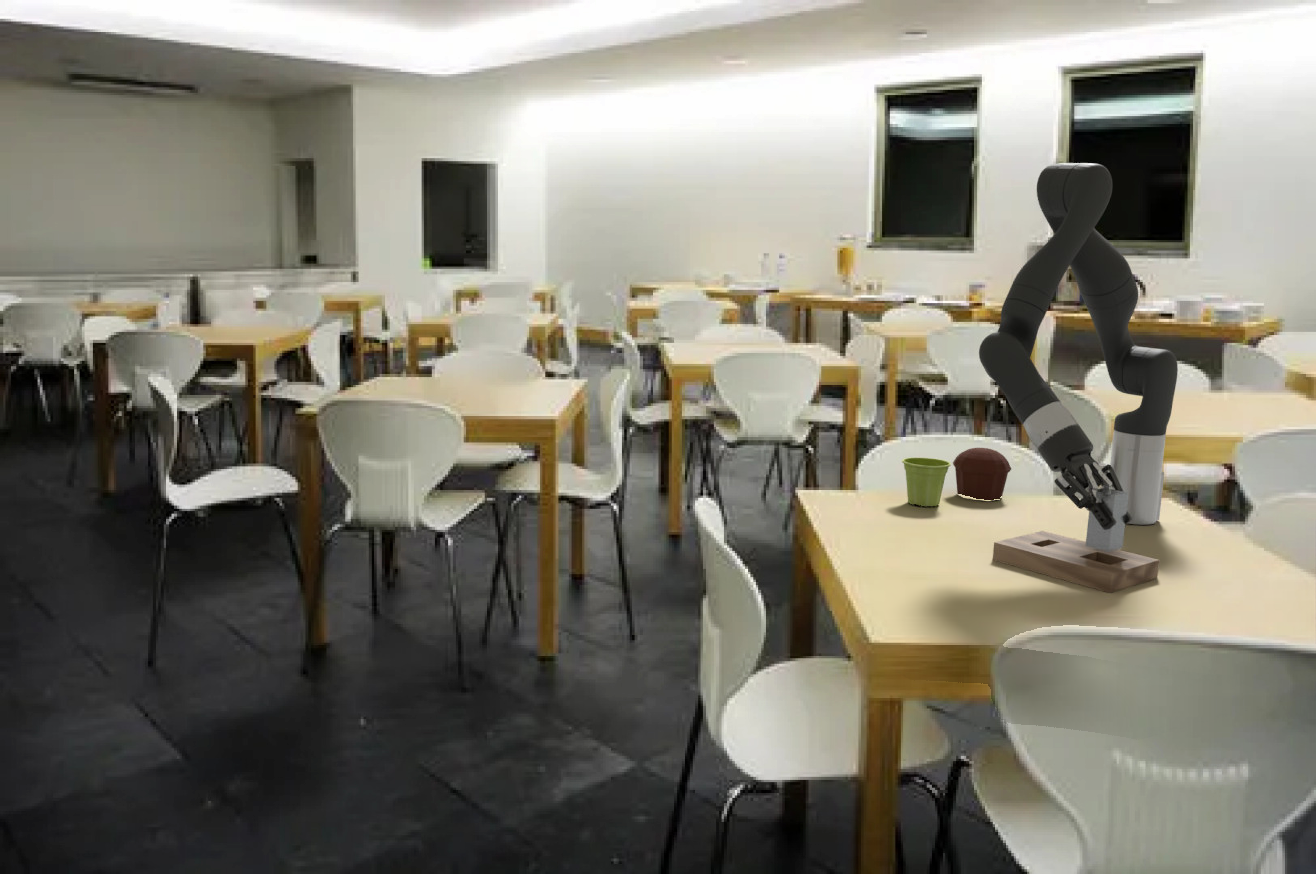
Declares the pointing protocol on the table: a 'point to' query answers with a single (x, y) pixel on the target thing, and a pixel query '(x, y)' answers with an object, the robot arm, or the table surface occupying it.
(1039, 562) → the plate
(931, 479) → the plant pot
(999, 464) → the muffin
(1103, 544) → the square bit
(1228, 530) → the table surface
